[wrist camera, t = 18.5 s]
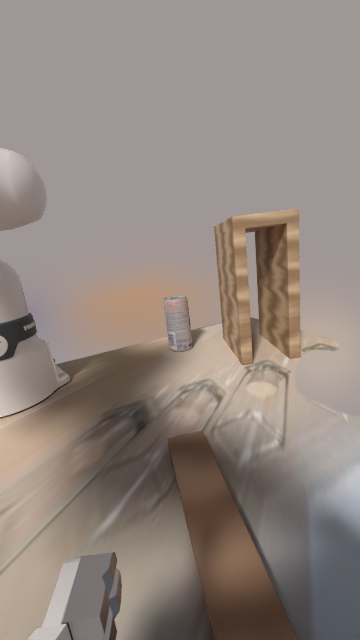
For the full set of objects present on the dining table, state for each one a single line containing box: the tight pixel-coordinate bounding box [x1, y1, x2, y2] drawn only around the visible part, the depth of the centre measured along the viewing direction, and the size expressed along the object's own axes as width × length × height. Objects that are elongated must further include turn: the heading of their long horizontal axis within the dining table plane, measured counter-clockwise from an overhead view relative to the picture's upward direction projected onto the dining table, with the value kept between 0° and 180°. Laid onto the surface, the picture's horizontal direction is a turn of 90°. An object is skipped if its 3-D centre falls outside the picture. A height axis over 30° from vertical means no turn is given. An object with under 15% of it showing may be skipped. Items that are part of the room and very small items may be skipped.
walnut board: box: [168, 431, 298, 640], centre depth 21 cm, size 20×4×2 cm, turn 12°
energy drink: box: [164, 295, 193, 352], centre depth 61 cm, size 5×5×12 cm
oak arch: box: [214, 209, 300, 365], centre depth 54 cm, size 16×11×26 cm
